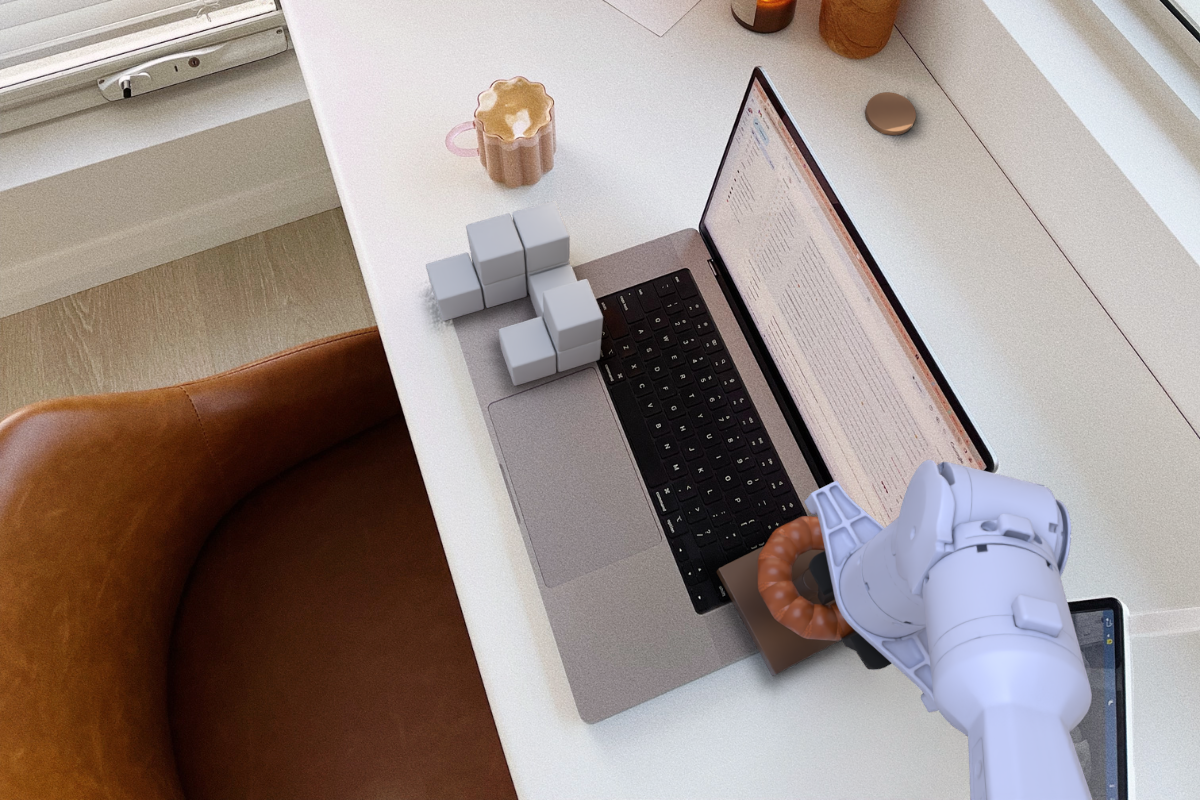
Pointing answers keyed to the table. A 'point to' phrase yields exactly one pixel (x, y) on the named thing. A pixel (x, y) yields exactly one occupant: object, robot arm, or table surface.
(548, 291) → the puzzle cube
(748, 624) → the peg stand
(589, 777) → the table surface
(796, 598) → the ring
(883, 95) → the coaster
